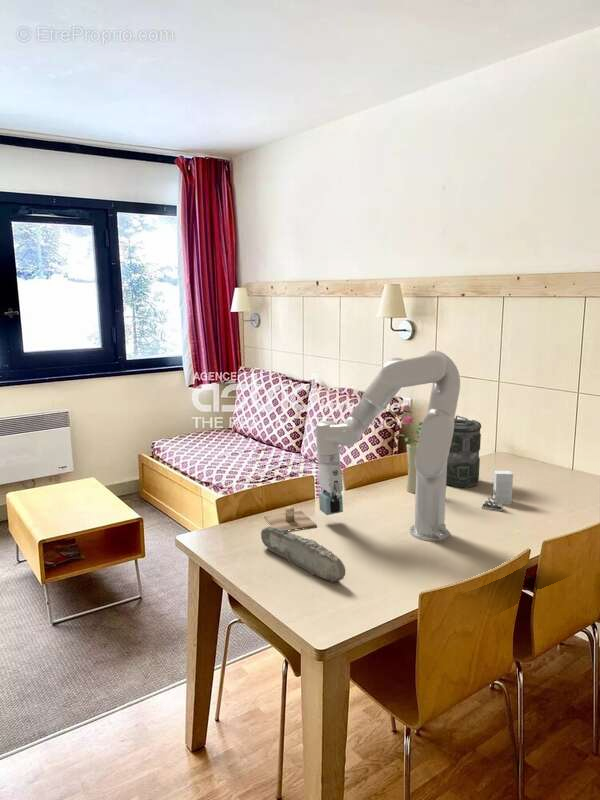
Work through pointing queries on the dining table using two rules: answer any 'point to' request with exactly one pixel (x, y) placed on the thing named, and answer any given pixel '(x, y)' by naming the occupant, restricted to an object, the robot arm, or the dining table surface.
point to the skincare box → (503, 486)
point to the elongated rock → (304, 553)
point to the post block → (290, 520)
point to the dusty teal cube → (328, 503)
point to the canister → (464, 454)
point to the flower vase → (410, 452)
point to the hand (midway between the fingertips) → (331, 508)
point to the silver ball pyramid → (491, 506)
